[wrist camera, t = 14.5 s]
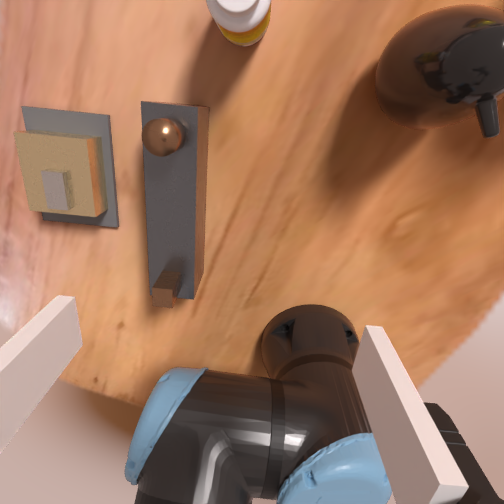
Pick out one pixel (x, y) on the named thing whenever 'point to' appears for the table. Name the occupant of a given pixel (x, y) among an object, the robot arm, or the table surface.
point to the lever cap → (63, 172)
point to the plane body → (175, 197)
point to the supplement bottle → (241, 19)
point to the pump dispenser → (445, 69)
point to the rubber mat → (83, 126)
